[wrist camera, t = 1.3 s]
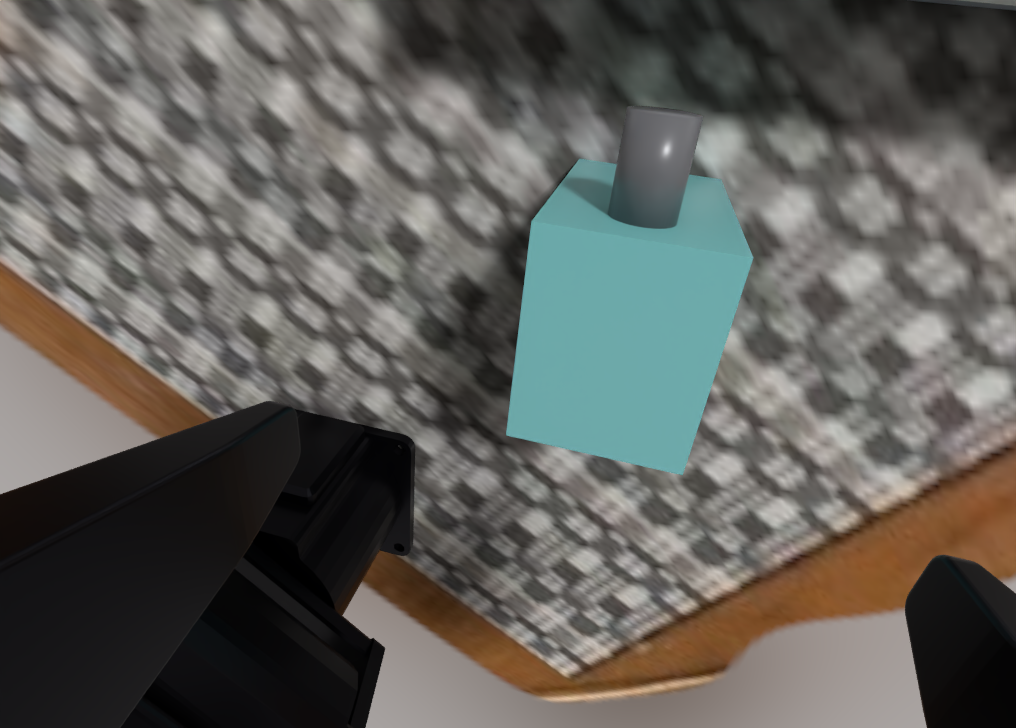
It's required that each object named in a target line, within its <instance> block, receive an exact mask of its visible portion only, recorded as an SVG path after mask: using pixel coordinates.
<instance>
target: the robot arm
mask: <svg viewBox="0 0 1016 728" xmlns="http://www.w3.org/2000/svg"><path fill="white" fill-rule="evenodd" d="M398 445H400V446H402V447H403V448H404V449H401V448H400V447H399V446H398ZM414 474H415V444H414V442H413V441H412V439H411V438H409V437H408V436H406V435H403V434H399V433H395V432H391V431H386V430H382V429H378V428H373V427H369V426H365V425H360V424H356V423H352V422H348V421H343V420H339V419H335V418H330V417H326V416H322V415H317V414H313V413H309V412H304V411H300V410H296V409H294V408H293V407H292V406H290V405H286V404H282V403H277V402H273V401H266V402H263V403H260V404H257V405H254V406H251V407H248V408H246V409H243V410H240V411H237V412H234V413H231V414H228V415H226V416H223V417H220V418H217V419H214V420H211V421H208V422H206V423H203V424H200V425H197V426H194V427H191V428H188V429H186V430H183V431H180V432H177V433H174V434H171V435H168V436H166V437H163V438H160V439H157V440H154V441H151V442H149V443H146V444H143V445H140V446H137V447H134V448H131V449H128V450H126V451H123V452H120V453H117V454H114V455H111V456H108V457H106V458H103V459H100V460H97V461H95V462H92V463H88V464H86V465H83V466H80V467H77V468H74V469H71V470H69V471H66V472H63V473H60V474H57V475H54V476H51V477H48V478H46V479H43V480H40V481H37V482H34V483H31V484H29V485H26V486H23V487H20V488H17V489H14V490H11V491H9V492H6V493H3V494H0V728H365V727H366V723H367V719H368V715H369V711H370V707H371V703H372V699H373V695H374V691H375V687H376V683H377V679H378V675H379V671H380V667H381V663H382V659H383V655H384V651H385V647H383V646H382V645H381V644H380V643H379V642H377V641H376V640H375V639H374V638H372V639H369V638H368V637H367V636H366V635H365V634H363V633H362V632H361V631H360V630H359V629H357V628H356V627H355V626H354V625H353V624H351V623H350V622H349V621H348V620H347V619H345V618H344V617H343V616H342V615H343V614H344V612H345V610H346V608H347V607H348V605H349V603H350V601H351V599H352V597H353V596H354V594H355V592H356V591H357V589H358V587H359V585H360V584H361V582H362V580H363V578H364V577H365V575H366V573H367V571H368V570H369V568H370V566H371V564H372V562H373V561H374V559H375V557H376V555H377V554H378V552H379V550H381V551H384V552H388V553H392V554H396V555H400V556H405V555H407V554H408V553H409V552H410V550H411V548H412V546H413V523H414ZM905 615H906V621H907V626H908V631H909V636H910V642H911V648H912V653H913V658H914V664H915V669H916V674H917V680H918V685H919V690H920V696H921V700H922V707H923V712H924V717H925V721H926V725H927V728H1016V593H1014V592H1013V591H1012V590H1011V589H1009V588H1008V587H1007V586H1006V585H1004V584H1003V583H1002V582H1001V581H999V580H998V579H997V578H996V577H994V576H993V575H992V574H991V573H990V572H988V571H987V570H986V569H985V568H983V567H982V566H981V565H979V564H978V563H975V562H973V561H970V560H966V559H961V558H957V557H952V556H948V555H938V556H936V557H934V558H933V559H932V560H931V561H930V562H929V564H928V565H927V567H926V568H925V570H924V571H923V573H922V574H921V576H920V577H919V579H918V580H917V582H916V583H915V585H914V586H913V588H912V589H911V591H910V592H909V594H908V596H907V599H906V604H905Z"/></svg>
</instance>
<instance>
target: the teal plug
mask: <svg viewBox="0 0 1016 728" xmlns="http://www.w3.org/2000/svg"><path fill="white" fill-rule="evenodd" d="M702 121H703V116H701V115H698V114H695V113H690V112H685V111H680V110H674V109H667V108H659V107H648V106H628V107H627V111H626V117H625V122H624V127H623V133H622V138H621V144H620V149H619V154H618V160H617V164H612V163H605V162H598V161H591V160H585V159H579V160H578V161H577V163H576V164H575V165H574V166H573V168H572V169H571V170H570V172H569V173H568V174H567V176H566V177H565V178H564V180H563V181H562V182H561V183H560V185H559V186H558V187H557V189H556V190H555V191H554V193H553V194H552V195H551V196H550V198H549V199H548V200H547V202H546V203H545V204H544V206H543V207H542V208H541V209H540V211H539V212H538V213H537V215H536V216H535V217H534V219H533V220H532V221H531V230H530V238H529V246H528V255H527V263H526V272H525V280H524V288H523V297H522V305H521V314H520V322H519V330H518V339H517V347H516V355H515V364H514V372H513V381H512V389H511V397H510V406H509V414H508V423H507V431H506V435H507V436H511V437H516V438H520V439H525V440H529V441H534V442H538V443H542V444H547V445H551V446H556V447H560V448H565V449H569V450H573V451H578V452H582V453H587V454H591V455H596V456H600V457H604V458H609V459H613V460H618V461H622V462H627V463H631V464H635V465H640V466H644V467H649V468H653V469H658V470H662V471H666V472H671V473H675V474H680V475H683V472H684V469H685V466H686V463H687V460H688V457H689V454H690V451H691V448H692V444H693V441H694V438H695V435H696V432H697V429H698V426H699V423H700V420H701V417H702V414H703V411H704V408H705V405H706V401H707V398H708V395H709V392H710V389H711V386H712V383H713V380H714V377H715V374H716V371H717V368H718V365H719V362H720V358H721V355H722V352H723V349H724V346H725V343H726V340H727V337H728V334H729V331H730V328H731V325H732V322H733V318H734V315H735V312H736V309H737V306H738V303H739V300H740V297H741V294H742V291H743V288H744V285H745V282H746V279H747V275H748V272H749V269H750V266H751V263H752V260H753V256H752V254H751V251H750V249H749V246H748V244H747V242H746V239H745V237H744V234H743V232H742V229H741V227H740V224H739V222H738V220H737V217H736V215H735V212H734V210H733V207H732V205H731V203H730V200H729V198H728V195H727V193H726V190H725V188H724V186H723V183H722V181H721V179H715V178H708V177H701V176H694V175H689V173H690V169H691V165H692V161H693V157H694V153H695V149H696V145H697V141H698V137H699V133H700V129H701V125H702Z"/></svg>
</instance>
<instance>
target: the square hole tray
mask: <svg viewBox="0 0 1016 728" xmlns="http://www.w3.org/2000/svg"><path fill="white" fill-rule="evenodd" d="M909 1H920V2H931V3H941V4H952V5H962V6H973V7H983V8H994V9H1005V10H1015V11H1016V0H909Z"/></svg>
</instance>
